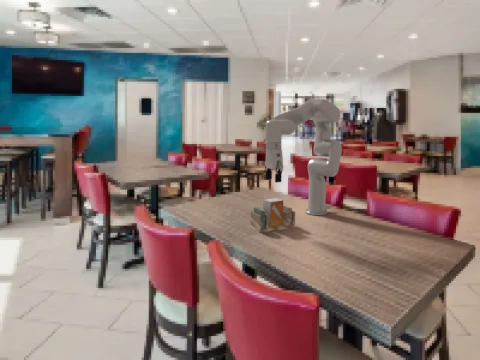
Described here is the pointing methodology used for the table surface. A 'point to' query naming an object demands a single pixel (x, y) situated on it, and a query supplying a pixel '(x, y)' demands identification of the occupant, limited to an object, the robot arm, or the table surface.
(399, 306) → the table surface
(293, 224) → the book rack
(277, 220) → the small box
